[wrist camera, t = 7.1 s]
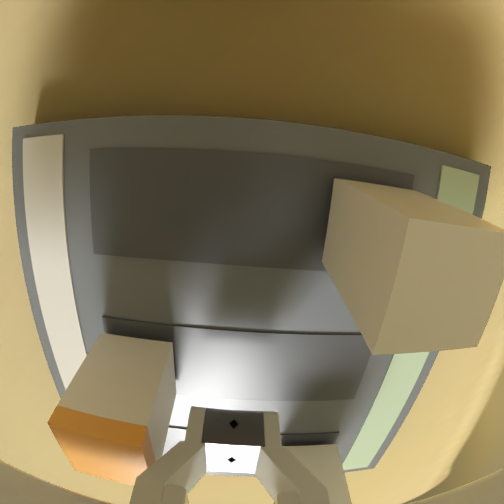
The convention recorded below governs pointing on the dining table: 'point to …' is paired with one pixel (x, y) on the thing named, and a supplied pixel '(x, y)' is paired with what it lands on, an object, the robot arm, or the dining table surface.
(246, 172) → the panel
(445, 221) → the block
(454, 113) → the dining table surface
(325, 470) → the block
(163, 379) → the block
